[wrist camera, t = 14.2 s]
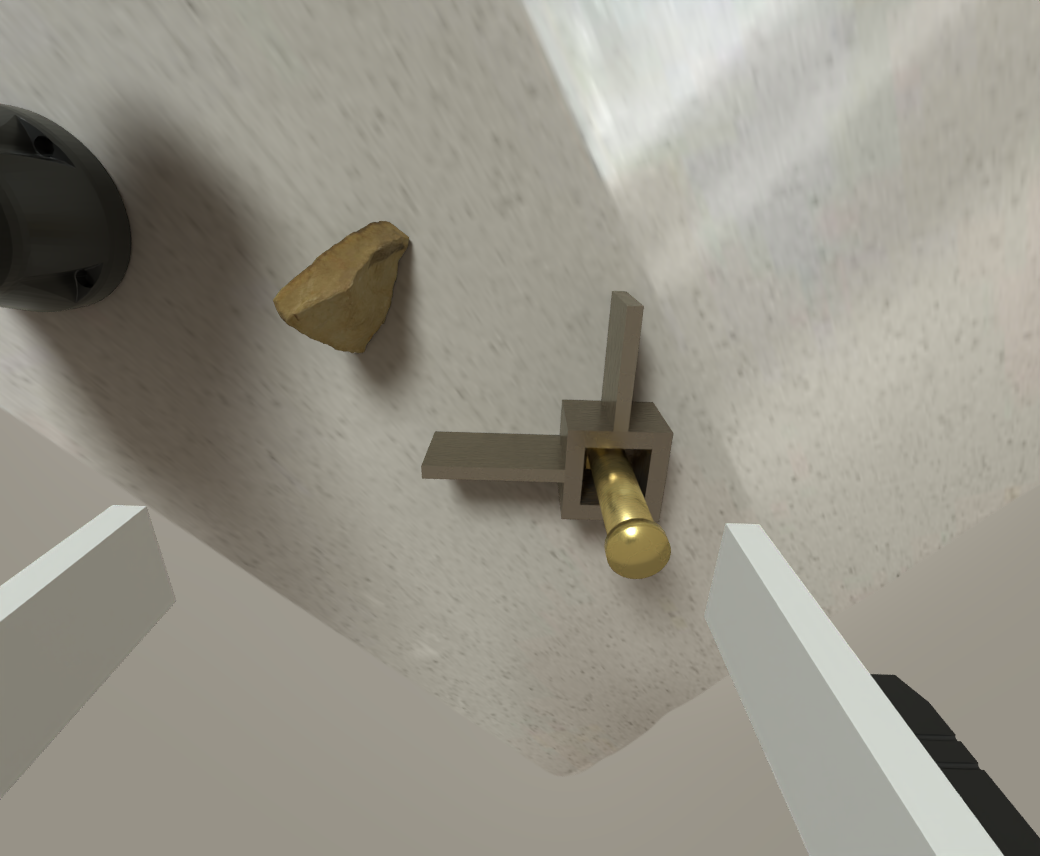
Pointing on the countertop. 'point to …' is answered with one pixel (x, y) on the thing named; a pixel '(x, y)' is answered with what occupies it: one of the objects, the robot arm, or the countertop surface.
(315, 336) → the rock
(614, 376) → the hinge
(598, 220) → the countertop surface
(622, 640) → the countertop surface
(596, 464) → the hinge pin
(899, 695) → the robot arm
